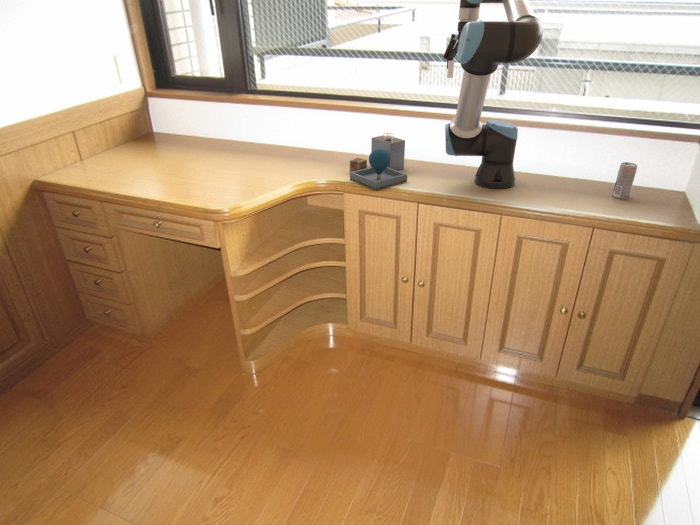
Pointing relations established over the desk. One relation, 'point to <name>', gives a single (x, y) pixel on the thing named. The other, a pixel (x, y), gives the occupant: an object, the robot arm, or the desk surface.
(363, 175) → the tray
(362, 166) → the walnut block
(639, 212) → the desk surface
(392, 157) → the block
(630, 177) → the energy drink
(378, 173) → the light bulb
